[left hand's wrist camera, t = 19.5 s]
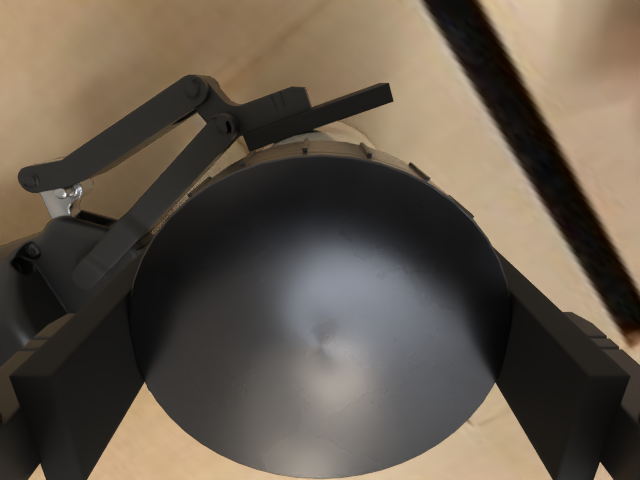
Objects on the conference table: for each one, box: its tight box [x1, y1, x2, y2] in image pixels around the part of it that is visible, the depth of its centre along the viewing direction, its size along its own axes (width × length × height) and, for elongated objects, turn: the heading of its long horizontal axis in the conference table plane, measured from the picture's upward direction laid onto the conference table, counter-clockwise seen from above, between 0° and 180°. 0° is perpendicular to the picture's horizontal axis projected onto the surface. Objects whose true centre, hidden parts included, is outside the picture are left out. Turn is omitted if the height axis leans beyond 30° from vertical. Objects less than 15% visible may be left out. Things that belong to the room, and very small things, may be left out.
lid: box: [129, 138, 511, 479], centre depth 11 cm, size 10×10×2 cm
